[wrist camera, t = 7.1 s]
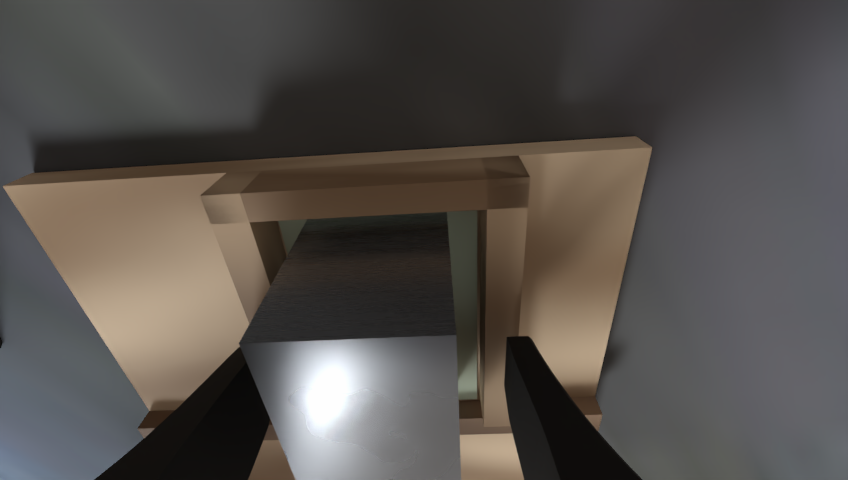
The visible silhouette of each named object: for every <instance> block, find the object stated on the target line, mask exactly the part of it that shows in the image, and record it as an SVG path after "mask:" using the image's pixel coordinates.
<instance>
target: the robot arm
mask: <svg viewBox="0 0 848 480" xmlns="http://www.w3.org/2000/svg"><path fill="white" fill-rule="evenodd" d="M504 388H505V395H506V402H507V409H508V415H509V421H510V425H511V430H512V434H513V438H514V442H515V445H516V449H517V453H518V457H519V461H520V465H521V469H522V473H523V477H524V480H642V479H641V478H640V477H639V476H638V475H637V474H636V473H635V472H634V471H633V470H632V469H631V468H630V467H629V465H628V464H627V463H626V462H625V461H624V460H623V459H622V458H621V457H620V456H619V455H618V454H617V453H616V452H615V450H614V449H613V448H612V447H611V446H610V445H609V444H608V443H607V441H606V440H605V439H604V438H603V437H602V436H601V435H600V433H599V432H598V431H597V430H596V429H595V427H594V426H593V425H592V424H591V423H590V421H589V420H588V419H587V418H586V417H585V415H584V414H583V413H582V411H581V410H580V409H579V408H578V406H577V405H576V404H575V402H574V401H573V400H572V398H571V397H570V396H569V394H568V393H567V392H566V390H565V389H564V388H563V386H562V385H561V384H560V382H559V381H558V379H557V378H556V376H555V375H554V374H553V372H552V371H551V369H550V368H549V366H548V365H547V363H546V362H545V360H544V358H543V357H542V355H541V354H540V352H539V350H538V349H537V347H536V345H535V344H534V342H533V340H532V339H531V338H530V337H529V336H514V337H507V340H506V359H505V378H504ZM269 422H270V417H269V415H268V412H267V410H266V408H265V405H264V403H263V400H262V398H261V396H260V393H259V391H258V388H257V386H256V384H255V381H254V379H253V376H252V374H251V372H250V369H249V367H248V364H247V362H246V360H245V357H244V355H243V353H242V350H241V348H240V347H239V348H238V349H236V350H235V351H234V352H233V353H232V354H231V355H230V356H229V357H228V358H227V359H226V360H225V361H224V362H223V363H222V364H221V365H220V366H219V367H218V368H217V369H216V370H215V371H214V372H213V373H212V374H211V375H210V376H209V377H208V378H207V379H206V380H205V381H204V382H203V383H202V384H201V385H200V386H199V387H198V388H197V389H196V390H195V391H194V392H193V393H192V394H191V395H190V396H189V397H188V398H187V399H186V400H185V401H184V402H183V403H182V404H181V405H180V406H179V407H178V408H177V409H176V410H175V411H174V412H172V413H171V414H170V415H169V416H168V417H167V418H166V419H165V420H164V421H163V422H162V423H160V424H159V425H158V426H157V427H156V428H155V429H154V430H153V431H152V432H151V433H150V434H148V435H147V436H146V437H145V438H144V439H143V440H142V441H141V442H140V443H138V444H137V445H136V446H135V447H134V448H133V449H131V450H130V451H129V452H128V453H127V454H126V455H124V456H123V457H122V458H121V459H120V460H118V461H117V462H116V463H115V464H113V465H112V466H111V467H110V468H108V469H107V470H106V471H105V472H103V473H102V474H101V475H100V476H98V477H97V478H96V479H95V480H248V479H249V476H250V474H251V471H252V469H253V466H254V464H255V461H256V458H257V456H258V453H259V451H260V448H261V445H262V443H263V440H264V437H265V435H266V432H267V429H268V426H269Z"/></svg>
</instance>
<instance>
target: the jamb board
mask: <svg viewBox="0 0 848 480" xmlns="http://www.w3.org/2000/svg"><path fill="white" fill-rule="evenodd" d="M651 151H652V147H651V146H649V145H648V144H646V143H645V142H644V141H642V140H641V139H639V138H638V137H636V136H632V137H615V138H599V139H582V140H566V141H550V142H533V143H517V144H500V145H484V146H467V147H451V148H435V149H418V150H402V151H385V152H369V153H352V154H336V155H320V156H303V157H287V158H270V159H254V160H237V161H221V162H204V163H188V164H172V165H155V166H139V167H122V168H106V169H89V170H73V171H57V172H40V173H31V174H29V175H27V176H24V177H22V178H20V179H18V180H15V181H13V182H11V183H9V184H6V185H4V186H3V187H4V189H5V191H6V192H7V194H8V195H9V197H10V198H11V200H12V201H13V203H14V204H15V206H16V207H17V209H18V210H19V212H20V213H21V215H22V217H23V218H24V220H25V221H26V223H27V224H28V226H29V227H30V229H31V230H32V232H33V233H34V235H35V236H36V238H37V239H38V241H39V243H40V244H41V246H42V247H43V249H44V250H45V252H46V253H47V255H48V256H49V258H50V259H51V261H52V262H53V264H54V265H55V267H56V269H57V270H58V272H59V273H60V275H61V276H62V278H63V279H64V281H65V282H66V284H67V285H68V287H69V288H70V290H71V291H72V293H73V295H74V296H75V298H76V299H77V301H78V302H79V304H80V305H81V307H82V308H83V310H84V311H85V313H86V314H87V316H88V318H89V319H90V321H91V322H92V324H93V325H94V327H95V328H96V330H97V331H98V333H99V334H100V336H101V337H102V339H103V340H104V342H105V344H106V345H107V347H108V348H109V350H110V351H111V353H112V354H113V356H114V357H115V359H116V360H117V362H118V363H119V365H120V366H121V368H122V370H123V371H124V373H125V374H126V376H127V377H128V379H129V380H130V382H131V383H132V385H133V386H134V388H135V389H136V391H137V392H138V394H139V396H140V397H141V399H142V400H143V402H144V403H145V405H146V406H147V408H148V409H149V412H148V414H147V415H146V417H145V418H144V420H143V421H142V423H141V424H140V426H139V427H138V430H139V432H140V433H141V434H142V436H143V437H144V438H145V437H146V436H147V435H148V434H150V433H151V432H152V431H153V430H154V429H155V428H156V427H157V426H158V425H159V424H160V423H162V422H163V421H164V420H165V419H166V418H167V417H168V416H169V415H170V414H171V413H172V412H174V411H175V410H176V409H177V408H178V407H179V406H180V405H181V404H182V403H183V402H184V401H185V400H186V399H187V398H188V397H189V396H190V395H191V394H192V393H193V392H194V391H195V390H196V389H197V388H198V387H199V386H200V385H201V384H202V383H203V382H204V381H205V380H206V379H207V378H208V377H209V376H210V375H211V374H212V373H213V372H214V371H215V370H216V369H217V368H218V367H219V366H220V365H221V364H222V363H223V362H224V361H225V360H226V359H227V358H228V357H229V356H230V355H231V354H232V353H233V352H234V351H235V350H236V349H238V348H239V347H240V345H239V342H240V340H241V339H242V337H243V335H244V333H245V331H246V330H247V328H248V326H249V324H250V322H251V320H252V319H253V317H254V315H255V313H256V311H257V310H258V308H259V306H260V304H261V302H262V301H263V299H264V297H265V295H266V293H267V291H268V290H269V288H270V286H271V284H272V282H273V281H274V279H275V277H276V275H277V273H278V271H279V270H280V268H281V266H282V264H283V262H284V261H285V259H286V257H287V255H288V253H289V252H290V250H291V248H292V246H293V244H294V242H295V241H296V239H297V237H298V235H299V233H300V232H301V230H302V228H303V226H304V224H305V222H306V221H307V219H322V218H341V217H359V216H378V215H396V214H415V213H434V212H447V222H448V234H449V247H450V260H451V273H452V286H453V299H454V312H455V325H456V341H457V370H458V400H459V429H460V459H461V480H524V477H523V473H522V469H521V465H520V461H519V457H518V453H517V449H516V445H515V442H514V438H513V434H512V430H511V425H510V421H509V415H508V409H507V402H506V395H505V388H504V378H505V359H506V340H507V337H514V336H529V337H530V338H531V339H532V340H533V342H534V344H535V345H536V347H537V349H538V350H539V352H540V354H541V355H542V357H543V358H544V360H545V362H546V363H547V365H548V366H549V368H550V369H551V371H552V372H553V374H554V375H555V376H556V378H557V379H558V381H559V382H560V384H561V385H562V386H563V388H564V389H565V390H566V392H567V393H568V394H569V396H570V397H571V398H572V400H573V401H574V402H575V404H576V405H577V406H578V408H579V409H580V410H581V411H582V413H583V414H584V415H585V417H586V418H587V419H588V420H589V421H590V423H591V424H592V425H593V426H594V427H595V429H596V430H597V431H598V430H599V426H600V422H601V418H602V412H601V410H600V407H599V405H598V403H597V400H596V398H595V394H596V390H597V385H598V381H599V377H600V372H601V368H602V364H603V359H604V355H605V351H606V346H607V342H608V338H609V333H610V329H611V325H612V320H613V316H614V312H615V307H616V303H617V299H618V294H619V290H620V286H621V281H622V277H623V273H624V268H625V264H626V260H627V255H628V251H629V247H630V242H631V238H632V234H633V229H634V225H635V221H636V216H637V212H638V208H639V203H640V199H641V195H642V190H643V186H644V182H645V177H646V173H647V169H648V164H649V160H650V156H651ZM248 480H296V479H295V477H294V475H293V472H292V470H291V467H290V465H289V463H288V460H287V458H286V455H285V453H284V451H283V448H282V446H281V443H280V441H279V439H278V436H277V434H276V431H275V429H274V427H273V424H272V422H271V420H270V422H269V426H268V429H267V432H266V435H265V437H264V440H263V443H262V445H261V448H260V451H259V453H258V456H257V458H256V461H255V464H254V466H253V469H252V471H251V474H250V476H249V479H248Z"/></svg>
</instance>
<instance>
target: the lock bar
mask: <svg viewBox="0 0 848 480" xmlns="http://www.w3.org/2000/svg"><path fill="white" fill-rule="evenodd" d="M239 345H240V348H241V350H242V353H243V355H244V357H245V360H246V362H247V364H248V367H249V369H250V372H251V374H252V376H253V379H254V381H255V384H256V386H257V388H258V391H259V393H260V396H261V398H262V400H263V403H264V405H265V408H266V410H267V412H268V415H269V417H270V420H271V422H272V424H273V427H274V429H275V431H276V434H277V436H278V439H279V441H280V443H281V446H282V448H283V451H284V453H285V455H286V458H287V460H288V463H289V465H290V467H291V470H292V472H293V475H294V477H295V479H296V480H461V459H460V429H459V400H458V370H457V341H456V325H455V312H454V299H453V286H452V273H451V260H450V247H449V234H448V222H447V212H434V213H415V214H396V215H378V216H359V217H341V218H322V219H307V221H306V222H305V224H304V226H303V228H302V230H301V232H300V233H299V235H298V237H297V239H296V241H295V242H294V244H293V246H292V248H291V250H290V252H289V253H288V255H287V257H286V259H285V261H284V262H283V264H282V266H281V268H280V270H279V271H278V273H277V275H276V277H275V279H274V281H273V282H272V284H271V286H270V288H269V290H268V291H267V293H266V295H265V297H264V299H263V301H262V302H261V304H260V306H259V308H258V310H257V311H256V313H255V315H254V317H253V319H252V320H251V322H250V324H249V326H248V328H247V330H246V331H245V333H244V335H243V337H242V339H241V340H240V342H239Z"/></svg>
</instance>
